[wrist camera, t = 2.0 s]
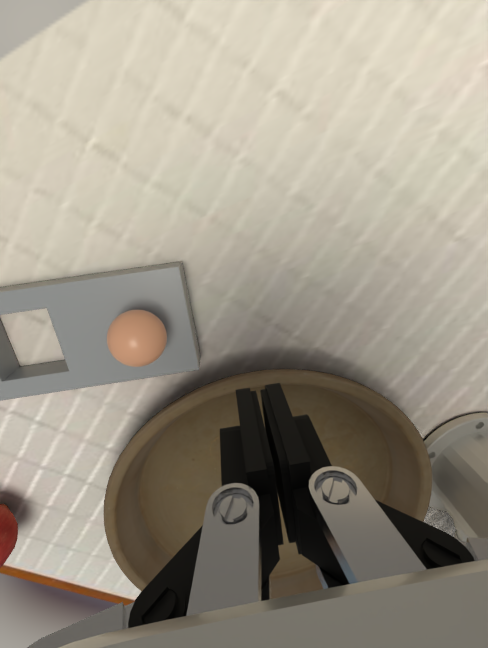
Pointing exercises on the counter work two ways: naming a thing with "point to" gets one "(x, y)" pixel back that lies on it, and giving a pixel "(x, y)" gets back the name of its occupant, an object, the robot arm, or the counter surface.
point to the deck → (98, 328)
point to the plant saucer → (205, 467)
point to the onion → (7, 533)
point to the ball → (136, 338)
